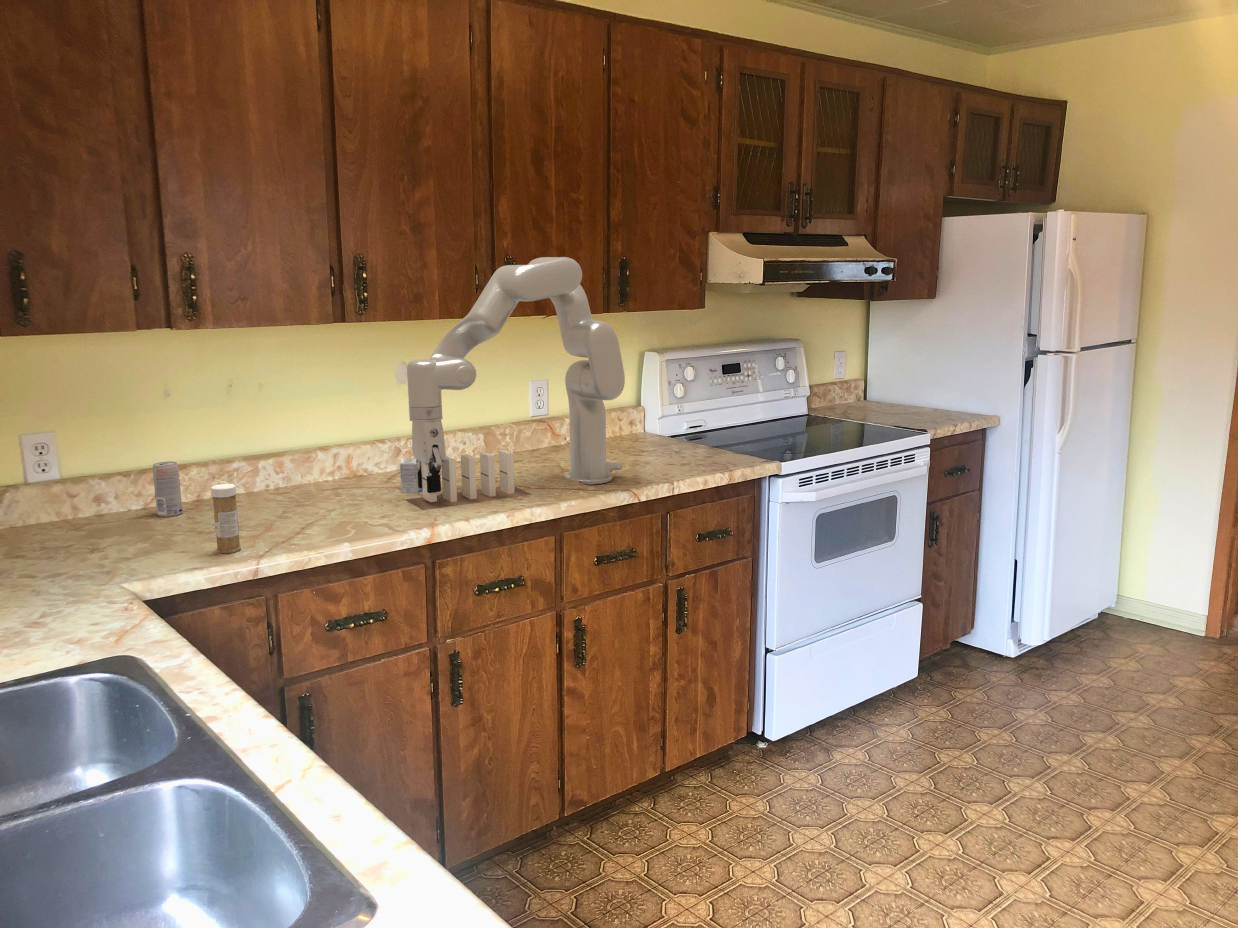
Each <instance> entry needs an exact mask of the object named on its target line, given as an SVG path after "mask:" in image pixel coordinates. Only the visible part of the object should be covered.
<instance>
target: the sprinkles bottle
mask: <svg viewBox="0 0 1238 928" xmlns="http://www.w3.org/2000/svg"><path fill="white" fill-rule="evenodd" d="M210 490H211V491H210V493H211V494H210V495H211V498H212V503H213V515H214V517H213V518H214V519H213V520H214V529H215V531H214V532H215V537H216V545H217V546H216V547H217V548H216V551H217V553H219V554H232V553H237V552H239V551H241V549H242V546H241V545H240V544H241V541H240V526H239V516H238V515H239V514H238V507H237V498H236V497H237V486H236V485H235V484H233V483H221V484H215V485H212V486H211V487H210Z"/></svg>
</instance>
